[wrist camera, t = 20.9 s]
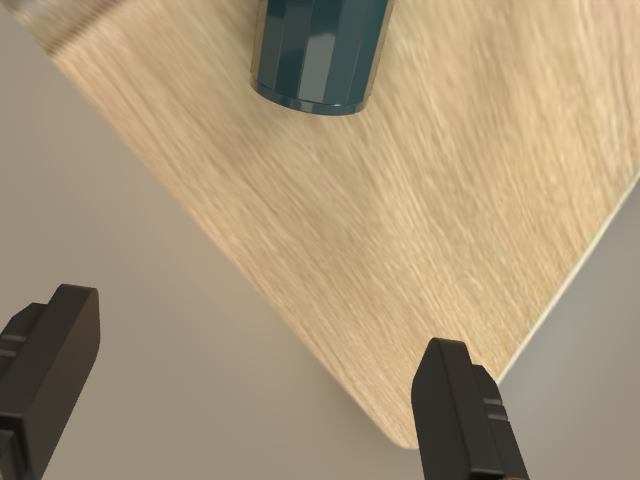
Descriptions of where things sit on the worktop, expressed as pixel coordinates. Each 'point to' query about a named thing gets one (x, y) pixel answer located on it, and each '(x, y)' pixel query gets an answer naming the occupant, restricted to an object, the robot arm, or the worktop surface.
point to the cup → (318, 53)
